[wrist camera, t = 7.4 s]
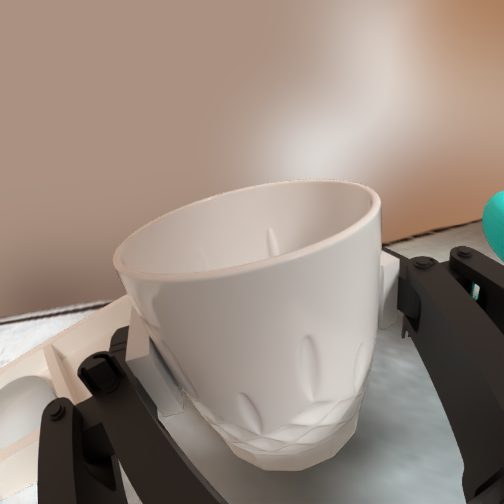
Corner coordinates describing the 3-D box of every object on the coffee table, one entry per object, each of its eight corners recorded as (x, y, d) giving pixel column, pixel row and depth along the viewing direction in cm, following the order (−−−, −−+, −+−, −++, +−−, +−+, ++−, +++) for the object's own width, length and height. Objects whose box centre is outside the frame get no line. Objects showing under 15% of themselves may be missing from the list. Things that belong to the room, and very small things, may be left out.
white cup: (353, 497, 7) (384, 281, 3) (183, 455, 11) (64, 273, 7) (379, 362, 14) (377, 171, 10) (249, 352, 17) (202, 192, 13)
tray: (153, 309, 29) (143, 284, 28) (227, 352, 21) (216, 321, 20) (-18, 413, 14) (-36, 391, 13) (-7, 504, 6) (-37, 481, 4)
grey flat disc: (43, 370, 19) (37, 362, 19) (73, 423, 14) (65, 414, 13) (-17, 414, 13) (-24, 406, 12) (-3, 479, 7) (-13, 471, 7)
